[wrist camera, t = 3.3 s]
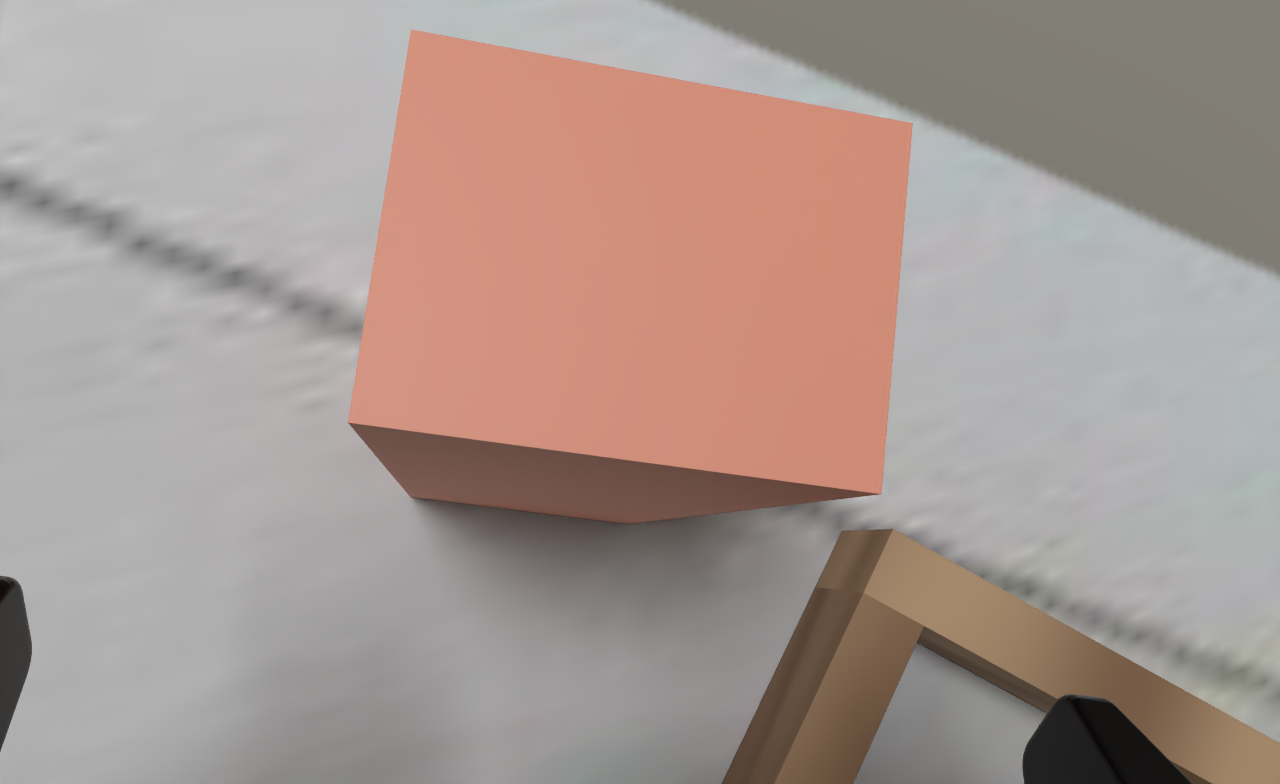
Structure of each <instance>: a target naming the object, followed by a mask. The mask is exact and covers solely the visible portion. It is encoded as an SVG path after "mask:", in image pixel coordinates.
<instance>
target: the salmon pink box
mask: <svg viewBox="0 0 1280 784" xmlns="http://www.w3.org/2000/svg"><path fill="white" fill-rule="evenodd" d="M912 125H913V123H908V122H903V121H897V120H892V119H887V118H881V117H876V116H871V115H865V114H860V113H855V112H849V111H844V110H839V109H833V108H828V107H823V106H817V105H812V104H806V103H801V102H796V101H790V100H785V99H780V98H774V97H769V96H764V95H758V94H753V93H748V92H742V91H737V90H732V89H726V88H721V87H715V86H710V85H705V84H699V83H694V82H689V81H683V80H678V79H673V78H667V77H662V76H657V75H651V74H646V73H641V72H635V71H630V70H624V69H619V68H614V67H608V66H603V65H598V64H592V63H587V62H582V61H576V60H571V59H566V58H560V57H555V56H550V55H544V54H539V53H534V52H528V51H523V50H517V49H512V48H507V47H501V46H496V45H491V44H485V43H480V42H475V41H469V40H464V39H459V38H453V37H448V36H443V35H437V34H432V33H426V32H421V31H416V30H411V34H410V40H409V46H408V53H407V59H406V65H405V71H404V77H403V84H402V90H401V96H400V102H399V109H398V115H397V121H396V127H395V134H394V140H393V146H392V152H391V158H390V165H389V171H388V177H387V183H386V190H385V196H384V202H383V208H382V214H381V221H380V227H379V233H378V239H377V246H376V252H375V258H374V264H373V271H372V277H371V283H370V289H369V295H368V302H367V308H366V314H365V320H364V327H363V333H362V339H361V345H360V352H359V358H358V364H357V370H356V376H355V383H354V389H353V395H352V401H351V408H350V414H349V420H348V423H349V424H350V425H351V427H352V428H353V429H354V430H355V431H356V433H357V434H358V435H359V436H360V437H361V439H362V440H363V441H364V442H365V443H366V445H367V446H368V447H369V448H370V449H371V451H372V452H373V453H374V454H375V455H376V456H377V458H378V459H379V460H380V461H381V462H382V464H383V465H384V466H385V467H386V468H387V470H388V471H389V472H390V473H391V474H392V476H393V477H394V478H395V479H396V480H397V482H398V483H399V484H400V485H401V486H402V487H403V489H404V490H405V491H406V492H407V493H408V495H409V496H410V497H416V498H424V499H432V500H440V501H448V502H456V503H464V504H472V505H479V506H487V507H495V508H503V509H511V510H519V511H527V512H535V513H543V514H551V515H559V516H567V517H575V518H583V519H591V520H599V521H607V522H615V523H623V524H632V523H640V522H649V521H657V520H666V519H674V518H683V517H691V516H700V515H708V514H717V513H725V512H734V511H742V510H751V509H759V508H768V507H776V506H785V505H793V504H802V503H810V502H819V501H827V500H836V499H844V498H853V497H861V496H870V495H878V494H881V493H882V481H883V469H884V457H885V445H886V433H887V421H888V410H889V398H890V386H891V374H892V362H893V350H894V338H895V327H896V315H897V303H898V291H899V279H900V267H901V255H902V244H903V232H904V220H905V208H906V196H907V184H908V172H909V161H910V149H911V137H912Z"/></svg>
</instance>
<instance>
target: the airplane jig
mask: <svg viewBox="0 0 1280 784" xmlns="http://www.w3.org/2000/svg"><path fill="white" fill-rule="evenodd" d="M916 643H919V644H921V645H923V646H924V647H926V648H928V649H930V650H932V651H934V652H936V653H937V654H939V655H941V656H943V657H945V658H947V659H948V660H950V661H952V662H954V663H956V664H958V665H959V666H961V667H963V668H965V669H967V670H969V671H970V672H972V673H974V674H976V675H978V676H980V677H981V678H983V679H985V680H987V681H989V682H991V683H992V684H994V685H996V686H998V687H1000V688H1002V689H1003V690H1005V691H1007V692H1009V693H1011V694H1013V695H1014V696H1016V697H1018V698H1020V699H1022V700H1024V701H1025V702H1027V703H1029V704H1031V705H1033V706H1035V707H1036V708H1038V709H1040V710H1042V711H1044V712H1046V713H1048V712H1049V710H1050V709H1051V708H1052V706H1053V705H1054V703H1055V702H1056V701H1057V700H1058V698H1060V697H1062V696H1064V695H1066V694H1077V695H1086V696H1095V697H1101V698H1105V699H1107V700H1109V701H1110V702H1112V703H1113V704H1114V705H1116V706H1117V707H1118V708H1119V709H1120V710H1121V711H1122V712H1123V713H1124V714H1125V715H1126V716H1127V717H1128V718H1129V719H1130V720H1131V721H1132V722H1133V723H1134V724H1135V726H1136V727H1137V728H1138V729H1139V730H1140V731H1141V732H1142V733H1143V734H1144V735H1145V736H1146V737H1147V738H1148V739H1149V740H1150V741H1151V742H1152V743H1153V744H1154V745H1155V746H1156V747H1157V748H1158V749H1159V750H1160V751H1161V752H1162V753H1163V754H1164V755H1165V756H1166V757H1167V758H1168V759H1169V760H1170V761H1171V762H1172V763H1173V764H1174V765H1175V766H1176V767H1177V768H1178V769H1179V770H1180V771H1181V772H1182V773H1183V774H1184V775H1185V776H1186V777H1187V778H1188V780H1189V781H1190V782H1191V783H1192V784H1280V743H1278V742H1276V741H1275V740H1273V739H1271V738H1269V737H1267V736H1266V735H1264V734H1262V733H1260V732H1258V731H1257V730H1255V729H1253V728H1251V727H1249V726H1248V725H1246V724H1244V723H1242V722H1240V721H1239V720H1237V719H1235V718H1233V717H1231V716H1230V715H1228V714H1226V713H1224V712H1222V711H1221V710H1219V709H1217V708H1215V707H1213V706H1211V705H1210V704H1208V703H1206V702H1204V701H1202V700H1201V699H1199V698H1197V697H1195V696H1193V695H1192V694H1190V693H1188V692H1186V691H1184V690H1183V689H1181V688H1179V687H1177V686H1175V685H1174V684H1172V683H1170V682H1168V681H1166V680H1165V679H1163V678H1161V677H1159V676H1157V675H1156V674H1154V673H1152V672H1150V671H1148V670H1147V669H1145V668H1143V667H1141V666H1139V665H1137V664H1136V663H1134V662H1132V661H1130V660H1128V659H1127V658H1125V657H1123V656H1121V655H1119V654H1118V653H1116V652H1114V651H1112V650H1110V649H1109V648H1107V647H1105V646H1103V645H1101V644H1100V643H1098V642H1096V641H1094V640H1092V639H1091V638H1089V637H1087V636H1085V635H1083V634H1082V633H1080V632H1078V631H1076V630H1074V629H1073V628H1071V627H1069V626H1067V625H1065V624H1064V623H1062V622H1060V621H1058V620H1056V619H1054V618H1053V617H1051V616H1049V615H1047V614H1045V613H1044V612H1042V611H1040V610H1038V609H1036V608H1035V607H1033V606H1031V605H1029V604H1027V603H1026V602H1024V601H1022V600H1020V599H1018V598H1017V597H1015V596H1013V595H1011V594H1009V593H1008V592H1006V591H1004V590H1002V589H1000V588H999V587H997V586H995V585H993V584H991V583H990V582H988V581H986V580H984V579H982V578H980V577H979V576H977V575H975V574H973V573H971V572H970V571H968V570H966V569H964V568H962V567H961V566H959V565H957V564H955V563H953V562H952V561H950V560H948V559H946V558H944V557H943V556H941V555H939V554H937V553H935V552H934V551H932V550H930V549H928V548H926V547H925V546H923V545H921V544H919V543H917V542H916V541H914V540H912V539H910V538H908V537H906V536H905V535H903V534H901V533H899V532H897V531H896V530H894V529H882V530H854V531H842V533H841V535H840V537H839V539H838V541H837V543H836V546H835V548H834V550H833V552H832V554H831V556H830V558H829V560H828V562H827V564H826V567H825V569H824V571H823V573H822V575H821V577H820V579H819V581H818V583H817V585H816V587H815V590H814V592H813V594H812V596H811V598H810V600H809V602H808V604H807V606H806V608H805V611H804V613H803V615H802V617H801V619H800V621H799V623H798V625H797V627H796V629H795V632H794V634H793V636H792V638H791V640H790V642H789V644H788V646H787V648H786V650H785V652H784V655H783V657H782V659H781V661H780V663H779V665H778V667H777V669H776V671H775V673H774V676H773V678H772V680H771V682H770V684H769V686H768V688H767V690H766V692H765V694H764V697H763V699H762V701H761V703H760V705H759V707H758V709H757V711H756V713H755V715H754V717H753V720H752V722H751V724H750V726H749V728H748V730H747V732H746V734H745V736H744V738H743V741H742V743H741V745H740V747H739V749H738V751H737V753H736V755H735V757H734V759H733V761H732V764H731V766H730V768H729V770H728V772H727V774H726V776H725V778H724V780H723V782H722V784H853V782H854V780H855V778H856V776H857V774H858V771H859V769H860V767H861V765H862V763H863V760H864V758H865V756H866V754H867V752H868V749H869V747H870V745H871V743H872V740H873V738H874V736H875V734H876V732H877V729H878V727H879V725H880V723H881V721H882V718H883V716H884V714H885V712H886V709H887V707H888V705H889V703H890V701H891V698H892V696H893V694H894V692H895V690H896V687H897V685H898V683H899V681H900V679H901V676H902V674H903V672H904V670H905V667H906V665H907V663H908V661H909V659H910V656H911V654H912V652H913V650H914V648H915V645H916Z"/></svg>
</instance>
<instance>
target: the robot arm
mask: <svg viewBox="0 0 1280 784" xmlns="http://www.w3.org/2000/svg"><path fill="white" fill-rule="evenodd" d="M31 655H32V642H31V636H30V630H29V625H28V619H27V614H26V608H25V603H24V597H23V592H22V589H21V586H20V584H19V583H18V581H16V580H15V579H14V578H11V577H5V576H0V751H1V748H2V745H3V742H4V740H5V737H6V734H7V731H8V728H9V725H10V722H11V720H12V717H13V714H14V711H15V708H16V705H17V703H18V700H19V697H20V694H21V691H22V688H23V685H24V683H25V680H26V677H27V674H28V671H29V667H30V662H31ZM1023 777H1024V784H1192V783H1191V782H1190V781H1189V780H1188V778H1187V777H1186V776H1185V775H1184V774H1183V773H1182V772H1181V771H1180V770H1179V769H1178V768H1177V767H1176V766H1175V765H1174V764H1173V763H1172V762H1171V761H1170V760H1169V759H1168V758H1167V757H1166V756H1165V755H1164V754H1163V753H1162V752H1161V751H1160V750H1159V749H1158V748H1157V747H1156V746H1155V745H1154V744H1153V743H1152V742H1151V741H1150V740H1149V739H1148V738H1147V737H1146V736H1145V735H1144V734H1143V733H1142V732H1141V731H1140V730H1139V729H1138V728H1137V727H1136V726H1135V724H1134V723H1133V722H1132V721H1131V720H1130V719H1129V718H1128V717H1127V716H1126V715H1125V714H1124V713H1123V712H1122V711H1121V710H1120V709H1119V708H1118V707H1117V706H1116V705H1114V704H1113V703H1112V702H1110V701H1109V700H1107V699H1105V698H1101V697H1095V696H1086V695H1077V694H1066V695H1064V696H1062V697H1060V698H1058V700H1057V701H1056V702H1055V703H1054V705H1053V706H1052V708H1051V709H1050V710H1049V712H1048V713H1047V715H1046V716H1045V718H1044V719H1043V721H1042V722H1041V724H1040V725H1039V727H1038V728H1037V730H1036V731H1035V733H1034V734H1033V736H1032V737H1031V739H1030V740H1029V742H1028V743H1027V745H1026V748H1025V751H1024V755H1023Z"/></svg>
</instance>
